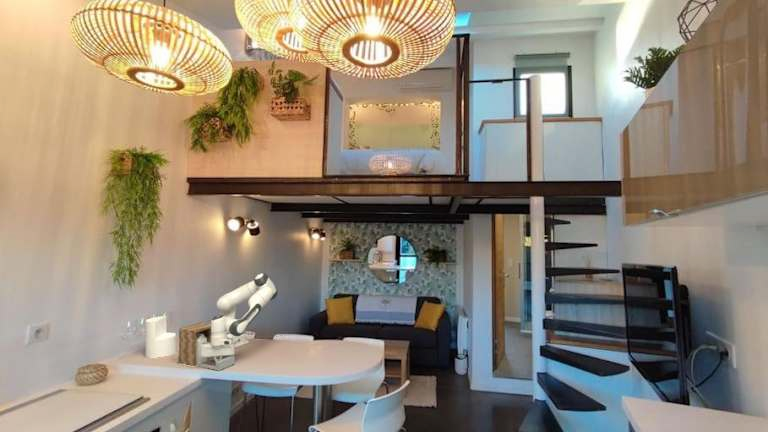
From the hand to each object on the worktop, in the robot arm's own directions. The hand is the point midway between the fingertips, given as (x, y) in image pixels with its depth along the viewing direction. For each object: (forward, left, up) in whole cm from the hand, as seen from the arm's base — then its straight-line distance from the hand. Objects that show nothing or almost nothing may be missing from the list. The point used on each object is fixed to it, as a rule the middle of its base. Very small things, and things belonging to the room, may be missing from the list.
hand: (218, 362), depth 242 cm
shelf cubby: (+5, -19, -2) cm, 19 cm away
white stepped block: (+14, -56, -2) cm, 58 cm away
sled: (+2, -8, -2) cm, 8 cm away
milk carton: (+5, -17, -2) cm, 18 cm away
